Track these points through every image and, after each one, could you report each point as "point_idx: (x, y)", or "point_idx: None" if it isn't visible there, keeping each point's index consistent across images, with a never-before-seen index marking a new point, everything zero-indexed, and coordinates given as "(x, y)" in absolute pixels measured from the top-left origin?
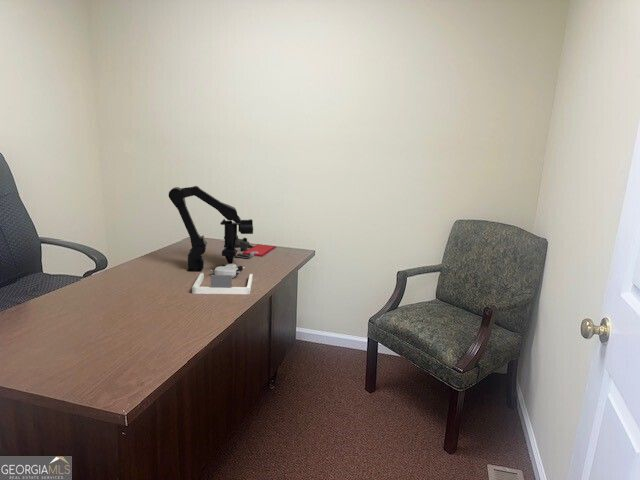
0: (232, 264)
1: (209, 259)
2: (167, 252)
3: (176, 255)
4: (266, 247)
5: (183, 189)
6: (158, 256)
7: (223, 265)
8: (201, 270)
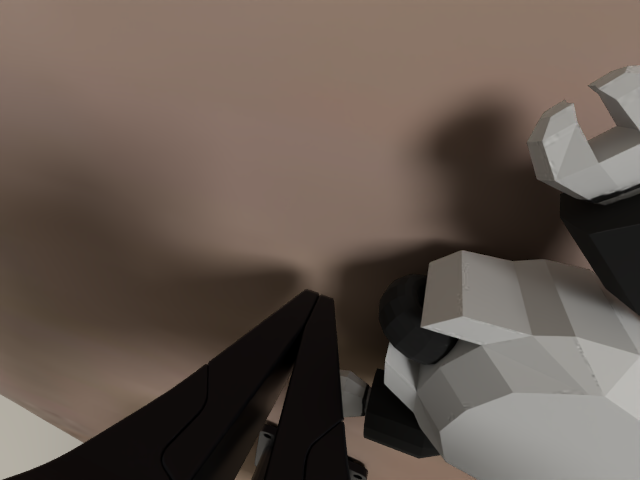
0: (564, 445)
1: (59, 324)
2: (44, 410)
3: (67, 406)
4: None
5: None
6: None
7: (423, 455)
8: (361, 471)
